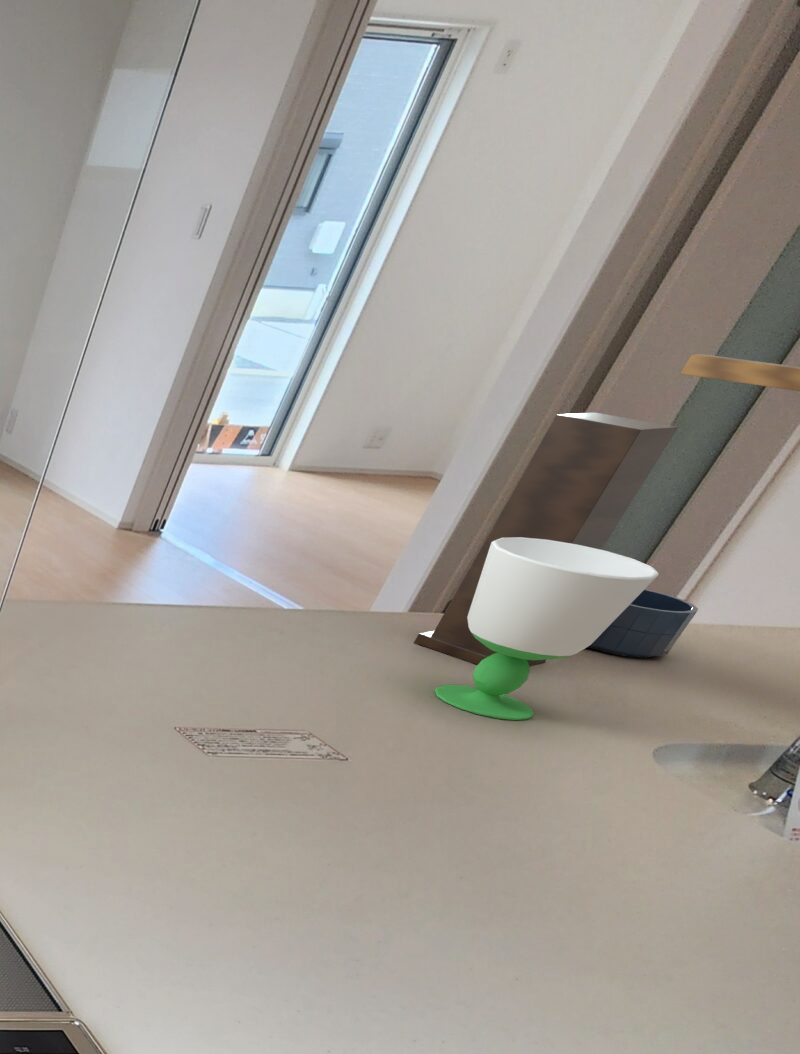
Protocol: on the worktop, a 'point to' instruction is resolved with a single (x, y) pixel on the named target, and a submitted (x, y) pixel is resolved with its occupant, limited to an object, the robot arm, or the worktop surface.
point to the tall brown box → (561, 503)
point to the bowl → (646, 626)
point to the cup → (540, 614)
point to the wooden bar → (743, 371)
